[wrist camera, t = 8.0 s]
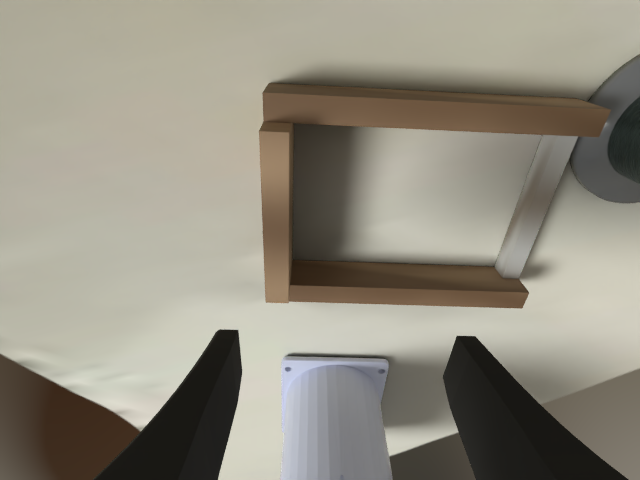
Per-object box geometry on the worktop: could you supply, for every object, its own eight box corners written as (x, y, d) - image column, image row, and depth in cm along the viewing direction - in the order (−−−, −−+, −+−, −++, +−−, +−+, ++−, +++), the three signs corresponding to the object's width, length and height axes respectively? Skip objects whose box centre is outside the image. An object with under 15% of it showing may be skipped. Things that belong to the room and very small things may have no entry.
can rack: (503, 282, 24) (535, 326, 21) (273, 274, 23) (266, 319, 20) (576, 98, 18) (637, 118, 15) (269, 82, 17) (258, 99, 14)
